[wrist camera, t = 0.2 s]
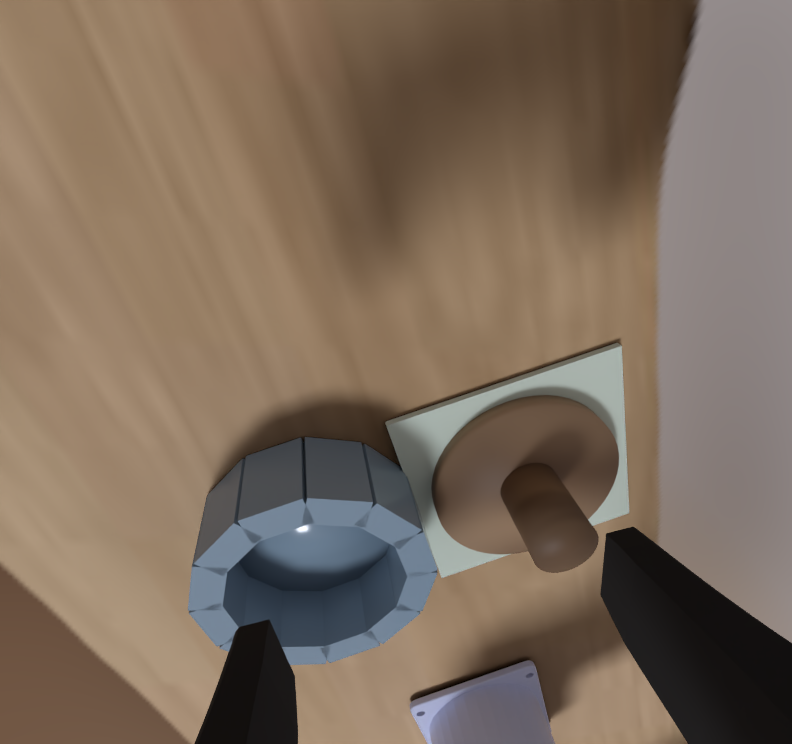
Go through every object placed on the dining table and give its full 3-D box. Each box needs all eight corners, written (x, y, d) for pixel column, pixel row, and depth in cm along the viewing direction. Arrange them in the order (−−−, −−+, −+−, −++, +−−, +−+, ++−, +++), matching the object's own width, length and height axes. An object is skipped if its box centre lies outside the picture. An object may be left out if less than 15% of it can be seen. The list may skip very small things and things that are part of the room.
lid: (613, 507, 25) (669, 580, 21) (453, 562, 25) (481, 645, 21) (604, 368, 21) (671, 428, 17) (409, 434, 20) (435, 509, 17)
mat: (625, 508, 26) (629, 513, 25) (440, 573, 25) (441, 578, 25) (617, 342, 20) (621, 345, 20) (385, 421, 20) (386, 426, 20)
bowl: (435, 554, 25) (455, 619, 22) (257, 616, 25) (252, 689, 22) (383, 409, 20) (399, 465, 17) (162, 484, 20) (139, 554, 17)
